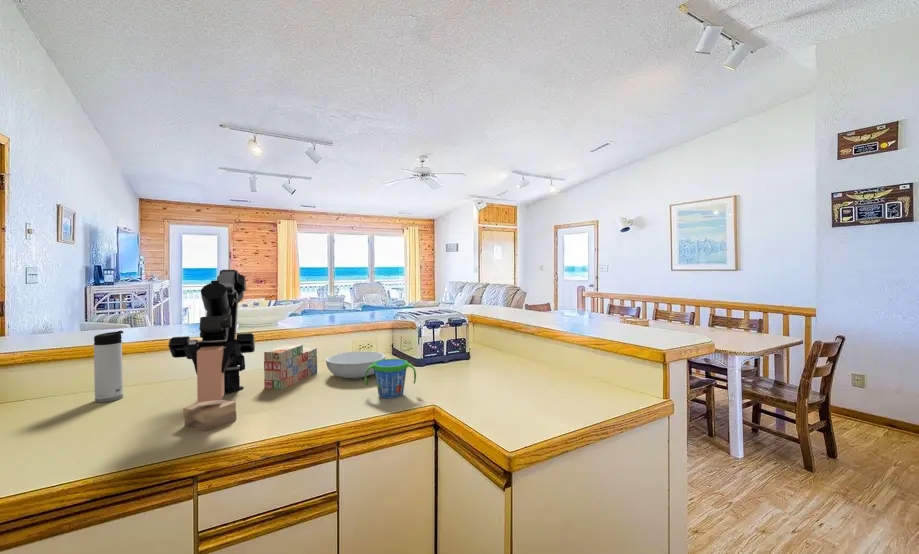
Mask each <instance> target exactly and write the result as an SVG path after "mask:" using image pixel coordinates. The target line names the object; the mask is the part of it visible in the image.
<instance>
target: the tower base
mask: <svg viewBox="0 0 919 554" xmlns="http://www.w3.org/2000/svg"><path fill="white" fill-rule="evenodd" d="M183 420H184V427H186V426H187V428H190V427H191V429H194V428H195V429H194V430H198V431H203V432H208V431H211V430H213V429H217V428H220V427H222V426H224V425H227V424H229V423H232V422H234V421H237V411H236V412H233V413H231V414H228V415H226V416H223V417H221V418H218V419H215V420H213V421H210V422H208V423H205V422H200V421H195V420H190V419H185V418H183Z"/></svg>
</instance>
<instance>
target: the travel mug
mask: <svg viewBox="0 0 919 554" xmlns="http://www.w3.org/2000/svg"><path fill="white" fill-rule="evenodd" d="M122 334H124V331H123V330H118V331H111V332H105V333H104V332H103V333H100V334H96V335H95V336H94V337H93V369H94V373H93V374H94V375H93V376H94V380H93V381H94V402H95V403H110V402H114V401H118V400H120V399H122V398H123V397H124V393H123V391H124V389H123V388H124V387H123V386H124V385H123V384H124V382H123V381H124V379H123V378H124V377H123V345H122V343H123V342H122V341H123V340H122V338H123V337H122Z"/></svg>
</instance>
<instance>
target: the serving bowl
mask: <svg viewBox="0 0 919 554" xmlns="http://www.w3.org/2000/svg"><path fill="white" fill-rule="evenodd" d="M384 359H386V355H385V354H384V353H382V352H379V351H369V350H363V351H361V350H360V351H347V352H342V353H336V354H332V355H331V356H330V355H329V356H328V357H326V358H325V364H326V366H327V369H328V371H329V372H330V373H331V374H332V375H334V376H336V377H339V378H344V379H349V378H350V380H351V379H352V380H354V379H356V378H357V379H362V378H363V379H364V378H365V373H366V370H367V369H368V367H369V366H371V365H372V364H373V363H374V362H376V361H379V360H384ZM371 375H375V373H374V369H373V368H370V369H369V370H368V372H367V377H369V376H371ZM357 379H356V380H357Z"/></svg>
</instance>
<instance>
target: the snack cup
mask: <svg viewBox="0 0 919 554" xmlns="http://www.w3.org/2000/svg"><path fill="white" fill-rule="evenodd" d="M370 368H373V369H374V376H375V381H376V388H377V394H378V396H380V397H381V398H384V399H392V398H398V397H401V396H402V395H404V390H405V383H406V375H407V370H408V369H407V368H411V369H412V370H413V385H415V384H416V380H417V371H416V368H415V366H413V364H411V363H410V362H409V361H408V360H405V359H402V358H385V359H384V360H379V361H376V362H374V363H373V364H372V365H371V366H369V367H368V369H367V370H366V373H365V377H364V383H365V386H368V385H369V382H368V376H367V372H368V370H369V369H370Z"/></svg>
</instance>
